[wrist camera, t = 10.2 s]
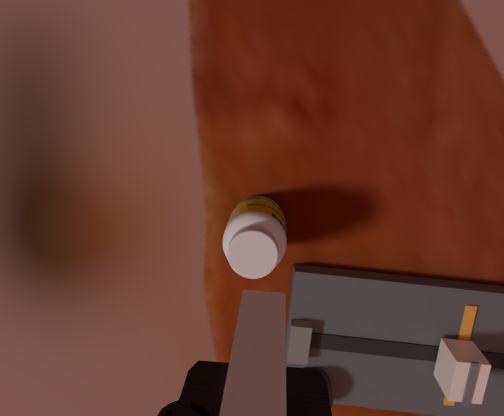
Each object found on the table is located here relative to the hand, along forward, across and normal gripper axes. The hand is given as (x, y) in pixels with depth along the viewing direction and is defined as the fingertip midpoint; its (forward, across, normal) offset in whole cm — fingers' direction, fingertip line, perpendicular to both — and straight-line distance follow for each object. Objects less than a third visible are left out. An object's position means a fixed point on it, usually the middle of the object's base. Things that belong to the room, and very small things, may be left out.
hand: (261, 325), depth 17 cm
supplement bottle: (+28, -1, -5) cm, 29 cm away
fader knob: (+26, +18, -17) cm, 36 cm away
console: (+28, +14, -17) cm, 36 cm away
